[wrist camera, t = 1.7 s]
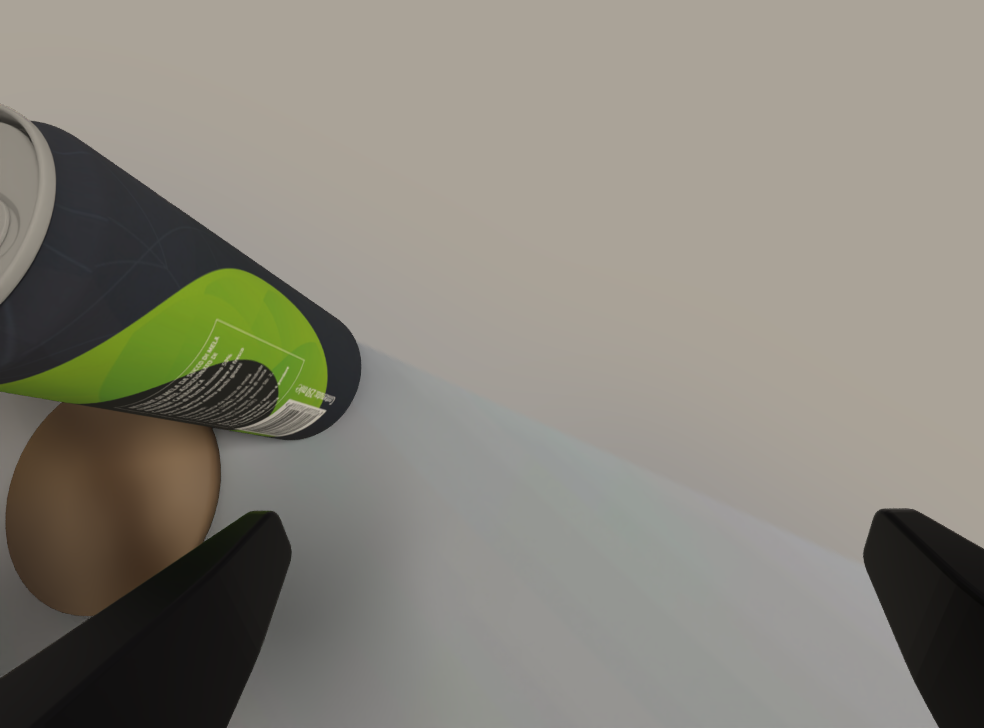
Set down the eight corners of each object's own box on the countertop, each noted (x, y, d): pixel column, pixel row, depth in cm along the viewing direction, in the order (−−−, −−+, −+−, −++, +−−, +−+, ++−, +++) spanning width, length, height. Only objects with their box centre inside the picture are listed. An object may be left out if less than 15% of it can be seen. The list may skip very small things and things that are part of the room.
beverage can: (383, 326, 25) (101, 96, 10) (347, 454, 23) (-30, 396, 9) (271, 307, 26) (-116, 80, 12) (232, 427, 25) (-256, 338, 10)
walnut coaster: (99, 666, 23) (82, 673, 22) (-14, 501, 26) (-32, 501, 25) (264, 477, 24) (254, 476, 23) (136, 338, 27) (123, 333, 26)
